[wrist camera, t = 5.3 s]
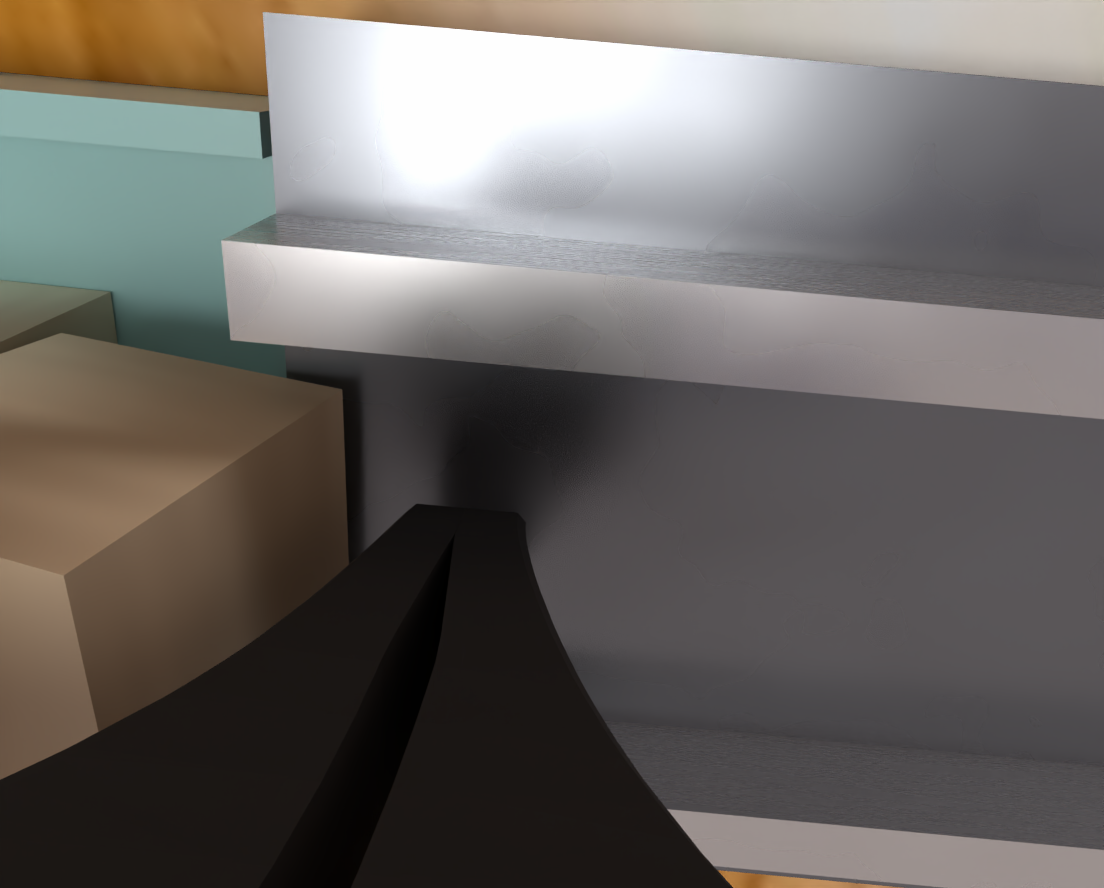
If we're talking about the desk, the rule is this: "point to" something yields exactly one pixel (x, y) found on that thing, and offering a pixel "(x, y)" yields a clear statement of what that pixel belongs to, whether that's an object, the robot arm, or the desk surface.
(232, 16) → the desk surface
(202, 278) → the tray
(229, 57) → the desk surface
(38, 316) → the block
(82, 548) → the block
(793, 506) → the slot board
